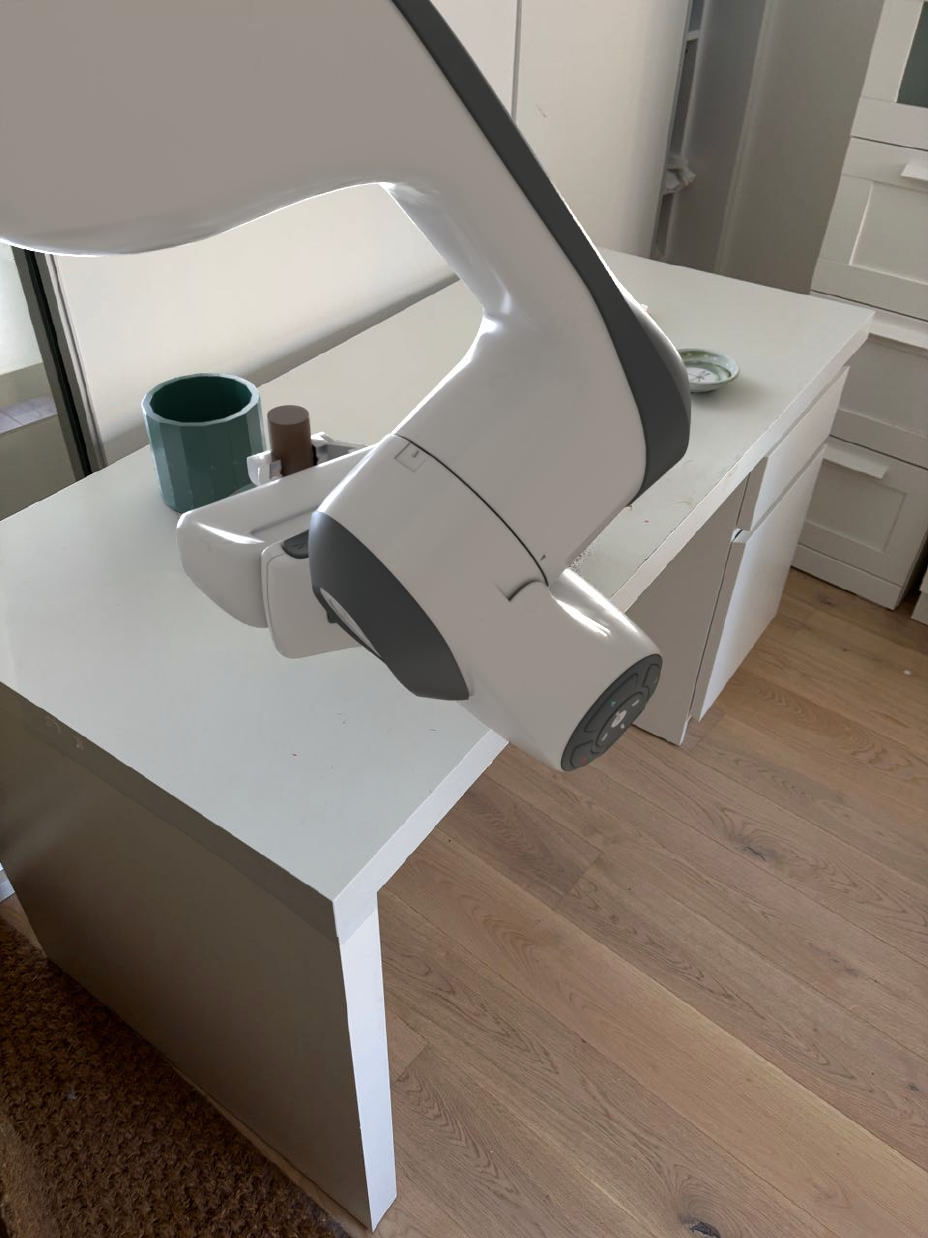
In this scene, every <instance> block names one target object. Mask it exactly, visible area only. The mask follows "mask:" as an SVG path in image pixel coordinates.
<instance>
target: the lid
mask: <svg viewBox="0 0 928 1238" xmlns="http://www.w3.org/2000/svg"><path fill="white" fill-rule="evenodd" d="M310 417H311V416H310V412H309V410H308V409H307V408H305V407H302V406H300V405H296V404H294V405H293V404H285V405H284V404H283V405H279V406H276V407H274V408H271V409H270V410H268V412H267V413H266V425H267V434H268V441H269V451H270V452H272V455H275V456H277V457H278V458H279V459H280V460H281V466H282V469H281V472H280V473H281V474H282V475H283V477H286V476H289V475H292V474H294V473H297V472H300V471H303V470H305V469H308V468H311V467H314V462H313V451H312V440H311V436H312V430H311V419H310ZM256 487H258V486H256V485H255V484H254V483H251V484H249V485H246V486H244V487H242V488H241V489H239V490H237V491H235V492H234V493H233V494H231V495H230V496H229V497H231V496H233V495H236V494H239V493H242V492H244V491H247V490H250V489H253V488H256ZM227 498H228V497H227Z"/></svg>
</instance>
